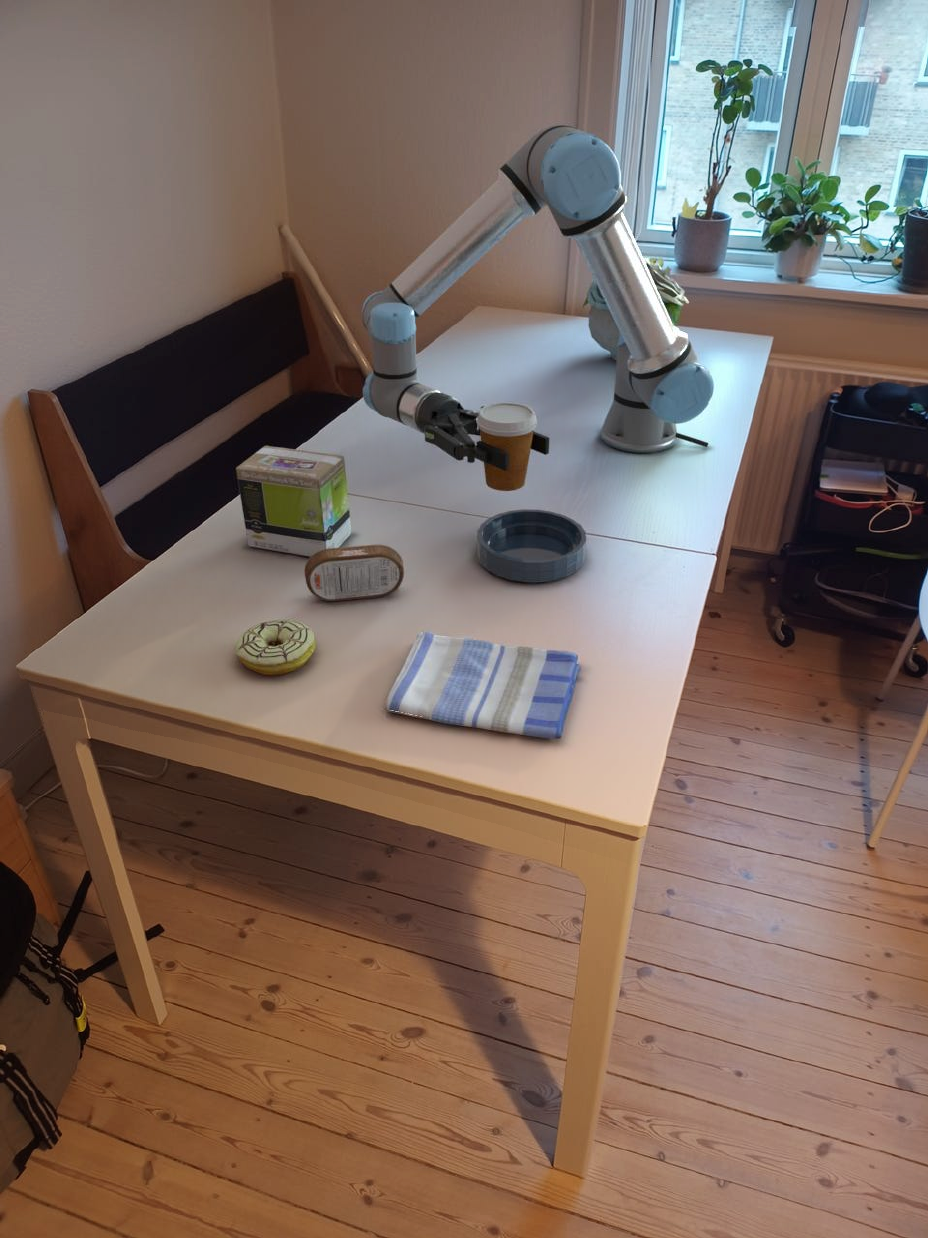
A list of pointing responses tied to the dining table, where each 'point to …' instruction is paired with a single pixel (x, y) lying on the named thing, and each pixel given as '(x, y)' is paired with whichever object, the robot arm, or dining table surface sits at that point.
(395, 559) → the tin
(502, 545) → the bowl
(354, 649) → the dining table surface
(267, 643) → the decorated donut
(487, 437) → the disposable coffee cup
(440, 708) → the dish towel
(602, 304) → the flower arrangement
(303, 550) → the tea box
